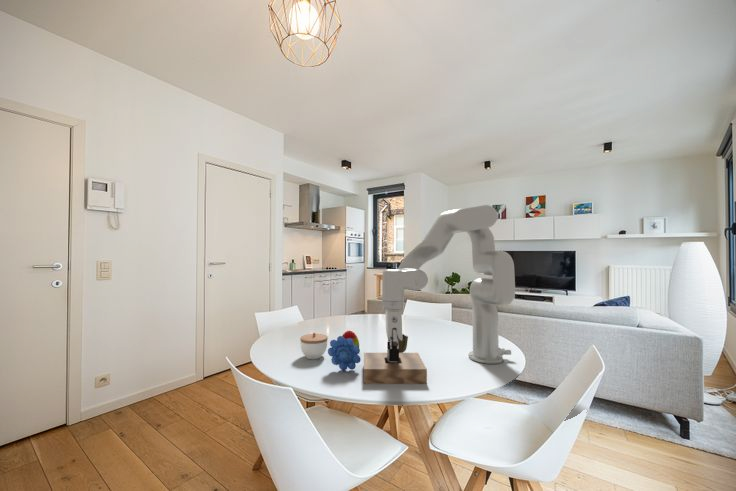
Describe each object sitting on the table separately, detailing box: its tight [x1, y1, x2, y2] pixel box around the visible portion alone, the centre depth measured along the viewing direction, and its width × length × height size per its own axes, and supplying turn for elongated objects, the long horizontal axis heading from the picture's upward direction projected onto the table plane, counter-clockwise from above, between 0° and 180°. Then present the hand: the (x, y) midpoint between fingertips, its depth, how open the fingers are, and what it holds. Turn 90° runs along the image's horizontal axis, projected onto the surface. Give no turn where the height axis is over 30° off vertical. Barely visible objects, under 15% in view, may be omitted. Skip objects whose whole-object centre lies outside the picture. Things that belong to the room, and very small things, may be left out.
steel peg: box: [386, 349, 399, 363], centre depth 103 cm, size 4×4×8 cm
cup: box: [398, 333, 409, 353], centre depth 121 cm, size 8×7×8 cm
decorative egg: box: [341, 330, 360, 348], centre depth 121 cm, size 8×8×10 cm
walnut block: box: [363, 352, 428, 385], centre depth 103 cm, size 20×16×4 cm
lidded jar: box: [299, 332, 329, 360], centre depth 120 cm, size 11×11×9 cm
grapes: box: [327, 335, 361, 371], centre depth 105 cm, size 12×7×12 cm, turn 90°
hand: (392, 356), depth 103 cm, fingers open, 7 cm apart
